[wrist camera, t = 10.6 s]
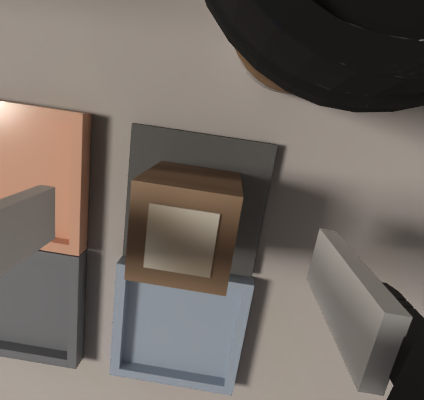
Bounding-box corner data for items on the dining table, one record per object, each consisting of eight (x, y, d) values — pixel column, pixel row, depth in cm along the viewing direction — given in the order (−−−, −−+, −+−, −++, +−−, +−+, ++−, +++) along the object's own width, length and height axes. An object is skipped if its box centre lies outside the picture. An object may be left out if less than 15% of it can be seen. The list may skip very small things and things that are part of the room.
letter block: (161, 160, 19) (130, 180, 14) (240, 172, 19) (243, 197, 13) (154, 235, 21) (123, 282, 15) (227, 247, 21) (225, 299, 15)
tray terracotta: (-53, 92, 20) (-70, 90, 19) (91, 113, 20) (82, 113, 18) (-41, 228, 22) (-56, 234, 21) (87, 248, 22) (79, 256, 21)
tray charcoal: (-41, 229, 22) (-56, 235, 21) (86, 250, 22) (78, 257, 21) (-31, 337, 25) (-44, 348, 24) (83, 357, 25) (75, 369, 24)
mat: (134, 123, 20) (131, 123, 19) (276, 144, 19) (277, 145, 19) (125, 252, 22) (122, 256, 21) (251, 272, 22) (251, 276, 21)
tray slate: (122, 255, 22) (116, 263, 21) (253, 276, 22) (254, 285, 21) (115, 362, 25) (109, 374, 23) (232, 382, 24) (232, 395, 23)
